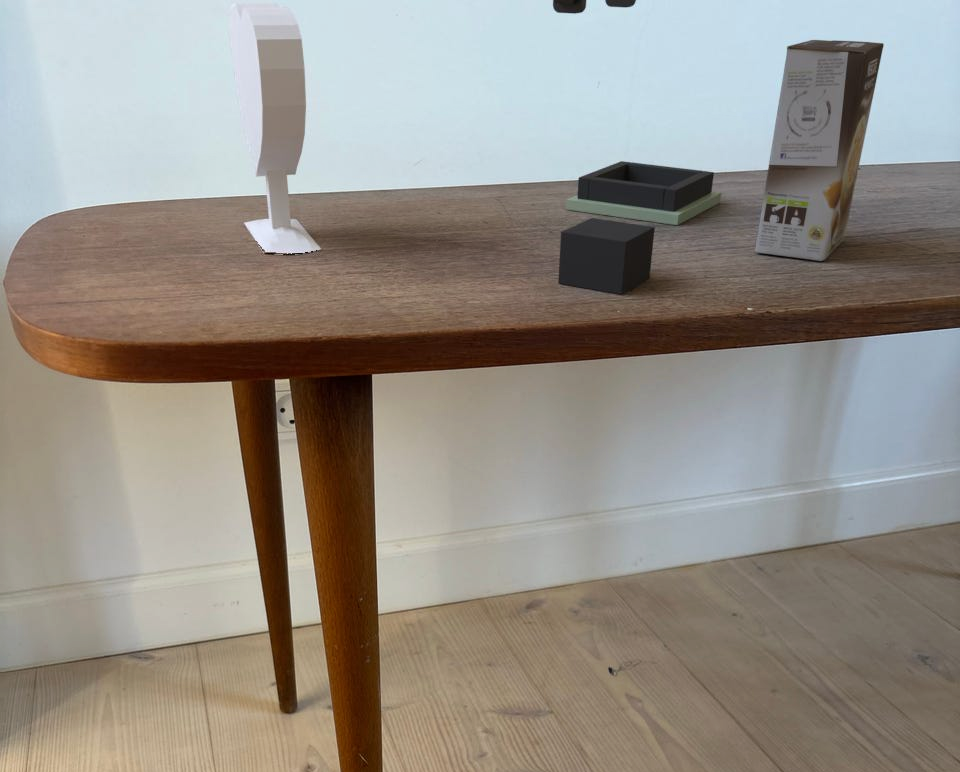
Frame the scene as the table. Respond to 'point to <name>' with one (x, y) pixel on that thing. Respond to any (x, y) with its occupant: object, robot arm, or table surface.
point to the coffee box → (817, 146)
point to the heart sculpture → (271, 113)
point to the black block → (605, 255)
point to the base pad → (645, 192)
